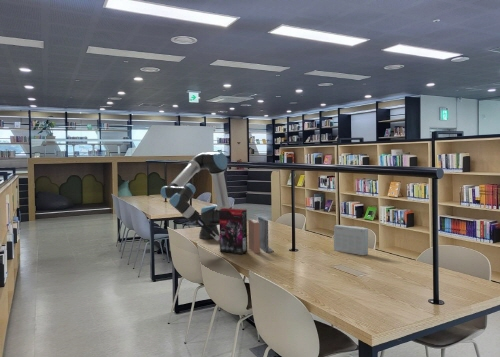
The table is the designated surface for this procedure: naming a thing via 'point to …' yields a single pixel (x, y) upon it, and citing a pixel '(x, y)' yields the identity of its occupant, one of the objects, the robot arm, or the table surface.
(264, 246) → the bookend
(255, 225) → the book
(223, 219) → the graphics card box
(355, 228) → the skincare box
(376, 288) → the table surface
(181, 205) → the robot arm
